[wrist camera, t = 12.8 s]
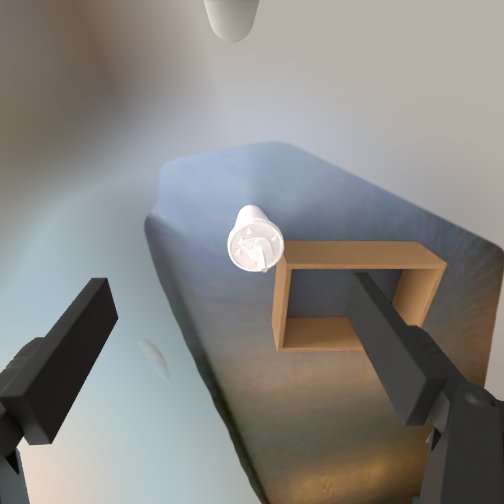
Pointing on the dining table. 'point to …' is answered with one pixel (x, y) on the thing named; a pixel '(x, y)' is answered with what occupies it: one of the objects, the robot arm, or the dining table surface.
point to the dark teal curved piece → (415, 499)
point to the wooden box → (351, 257)
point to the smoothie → (255, 241)
